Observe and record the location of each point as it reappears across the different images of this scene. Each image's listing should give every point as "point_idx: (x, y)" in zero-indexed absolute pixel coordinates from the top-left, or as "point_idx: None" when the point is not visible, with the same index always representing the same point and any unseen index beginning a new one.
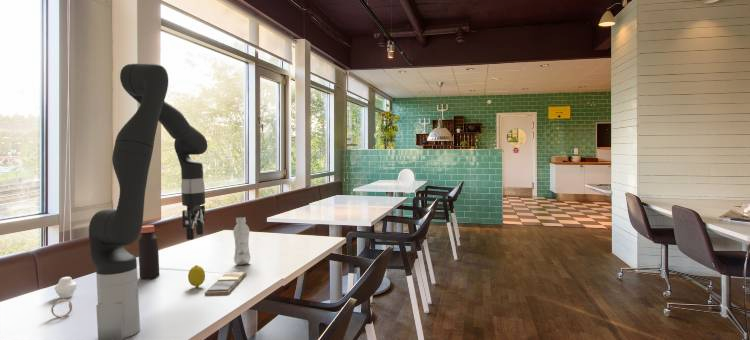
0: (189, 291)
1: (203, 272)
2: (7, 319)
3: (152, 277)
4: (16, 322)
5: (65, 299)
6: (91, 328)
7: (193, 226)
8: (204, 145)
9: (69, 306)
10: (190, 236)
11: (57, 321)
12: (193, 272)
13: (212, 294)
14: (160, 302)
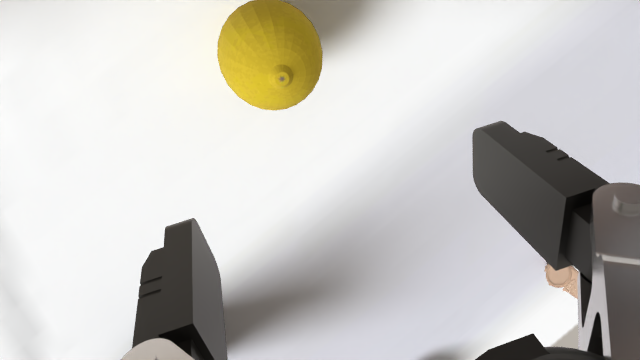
0: (328, 32)
1: (264, 10)
2: (548, 346)
3: None
4: (572, 316)
5: (577, 297)
6: None
7: (622, 202)
8: None
9: (558, 276)
10: (546, 146)
11: None
12: (320, 55)
13: None
14: (473, 65)
